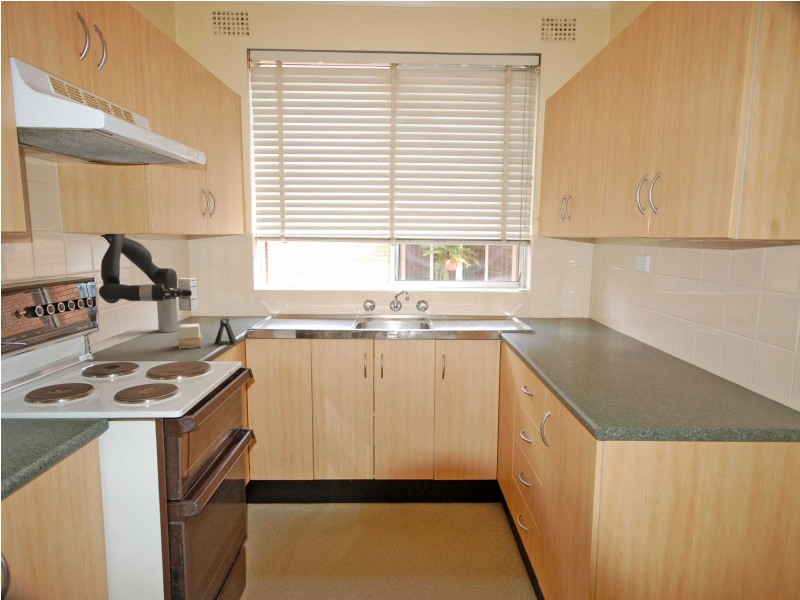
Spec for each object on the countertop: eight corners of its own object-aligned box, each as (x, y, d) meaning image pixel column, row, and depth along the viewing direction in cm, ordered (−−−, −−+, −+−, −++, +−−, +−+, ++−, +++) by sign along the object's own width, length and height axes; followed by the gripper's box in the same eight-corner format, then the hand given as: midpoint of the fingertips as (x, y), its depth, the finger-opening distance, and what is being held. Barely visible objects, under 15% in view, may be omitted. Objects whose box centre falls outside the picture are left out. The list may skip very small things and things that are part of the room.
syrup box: (197, 309, 221) (196, 277, 219) (191, 310, 215) (189, 278, 213) (185, 308, 221) (184, 277, 219) (178, 310, 215) (177, 278, 214)
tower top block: (181, 335, 222) (180, 324, 221) (199, 334, 225) (199, 323, 224) (179, 338, 214) (178, 327, 214) (198, 337, 217) (198, 326, 216)
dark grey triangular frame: (214, 344, 224) (213, 319, 223) (216, 341, 230) (215, 317, 228) (234, 344, 226) (233, 318, 224) (236, 341, 231) (235, 316, 230)
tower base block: (181, 345, 223) (180, 334, 223) (202, 344, 226) (201, 333, 225) (179, 349, 215) (178, 338, 214) (200, 348, 218) (200, 337, 217)
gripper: (148, 285, 205) (190, 285, 210) (154, 282, 219) (193, 282, 224) (149, 303, 206) (191, 302, 211) (155, 299, 220) (194, 298, 225)
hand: (192, 292), depth 218 cm, fingers closed on syrup box, 7 cm apart
